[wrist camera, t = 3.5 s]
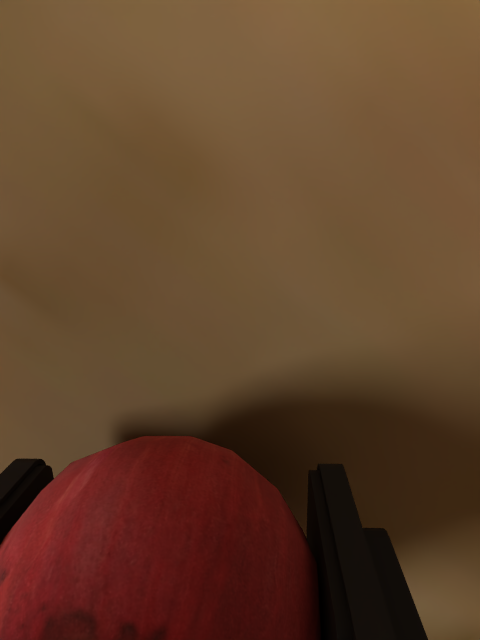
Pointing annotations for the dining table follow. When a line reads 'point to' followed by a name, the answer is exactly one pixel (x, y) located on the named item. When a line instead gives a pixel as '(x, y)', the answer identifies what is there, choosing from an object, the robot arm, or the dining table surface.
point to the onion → (158, 551)
